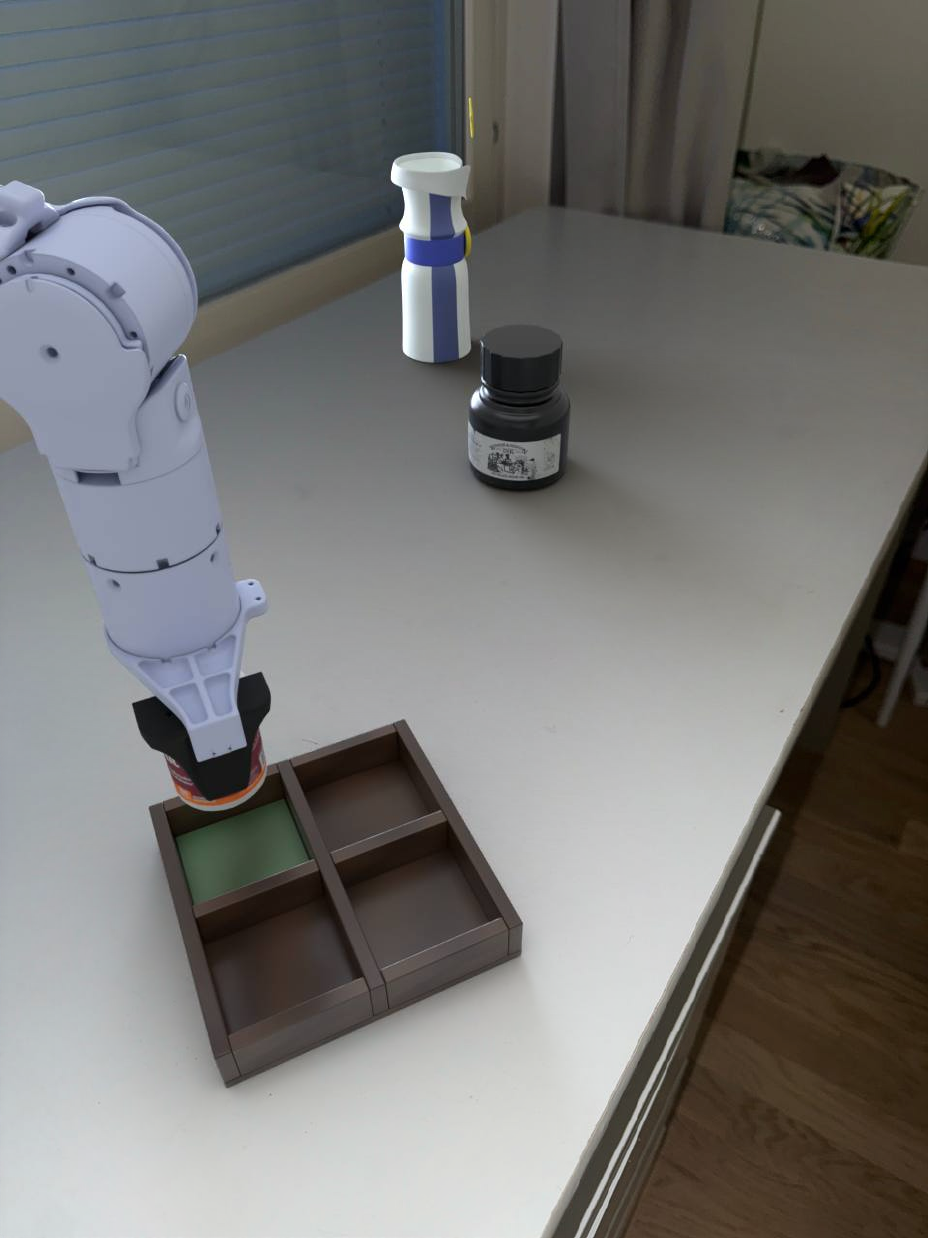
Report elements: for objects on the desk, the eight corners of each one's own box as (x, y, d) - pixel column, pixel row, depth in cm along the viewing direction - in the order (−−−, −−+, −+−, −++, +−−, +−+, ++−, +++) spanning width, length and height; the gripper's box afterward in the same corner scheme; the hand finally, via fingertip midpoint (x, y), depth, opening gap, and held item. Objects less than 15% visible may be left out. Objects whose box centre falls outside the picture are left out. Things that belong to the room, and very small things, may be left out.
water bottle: (460, 327, 108) (457, 84, 92) (484, 356, 102) (485, 102, 86) (392, 336, 106) (377, 90, 90) (412, 367, 100) (400, 109, 84)
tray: (226, 1089, 42) (214, 1059, 40) (160, 839, 53) (147, 806, 51) (521, 955, 47) (523, 923, 45) (406, 750, 58) (404, 717, 56)
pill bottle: (156, 798, 47) (114, 679, 41) (209, 733, 50) (177, 616, 45) (236, 826, 45) (203, 707, 40) (285, 757, 49) (261, 639, 43)
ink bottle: (450, 481, 82) (447, 354, 74) (483, 435, 88) (483, 313, 81) (556, 501, 79) (564, 371, 72) (581, 451, 86) (592, 327, 78)
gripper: (299, 605, 34) (336, 831, 43) (207, 431, 44) (252, 643, 53) (102, 662, 32) (184, 888, 40) (52, 466, 42) (127, 681, 51)
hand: (213, 753), depth 46 cm, fingers closed on pill bottle, 5 cm apart
